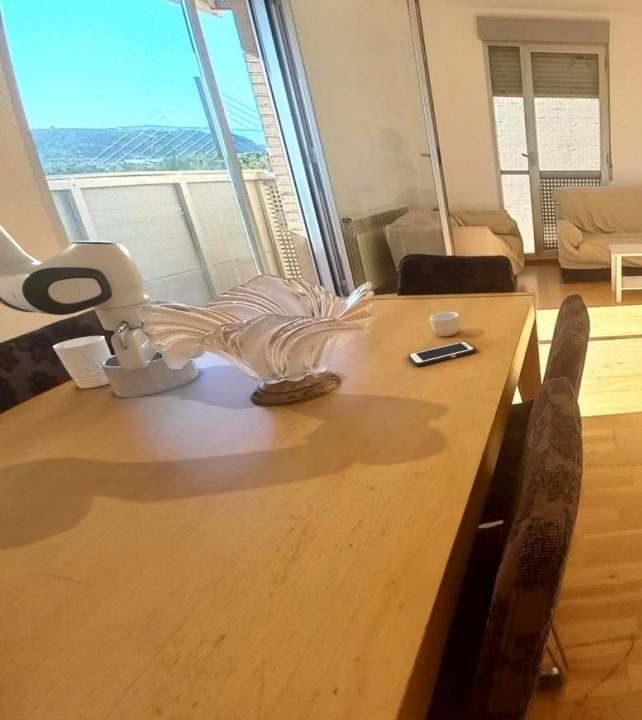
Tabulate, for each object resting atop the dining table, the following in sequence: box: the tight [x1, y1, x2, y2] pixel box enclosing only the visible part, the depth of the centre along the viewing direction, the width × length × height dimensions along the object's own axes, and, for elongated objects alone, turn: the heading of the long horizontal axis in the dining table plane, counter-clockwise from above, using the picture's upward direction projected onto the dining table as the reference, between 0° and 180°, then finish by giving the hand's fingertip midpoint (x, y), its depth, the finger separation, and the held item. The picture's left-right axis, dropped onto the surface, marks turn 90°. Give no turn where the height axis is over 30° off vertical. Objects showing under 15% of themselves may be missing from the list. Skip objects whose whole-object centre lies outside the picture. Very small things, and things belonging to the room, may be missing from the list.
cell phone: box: [408, 340, 476, 367], centre depth 118 cm, size 8×15×1 cm, turn 127°
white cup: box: [52, 335, 113, 389], centre depth 107 cm, size 8×8×10 cm
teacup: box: [429, 311, 461, 338], centre depth 133 cm, size 10×8×5 cm
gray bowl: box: [100, 353, 199, 398], centre depth 106 cm, size 14×14×7 cm
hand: (155, 374), depth 107 cm, fingers closed on toy car, 3 cm apart
